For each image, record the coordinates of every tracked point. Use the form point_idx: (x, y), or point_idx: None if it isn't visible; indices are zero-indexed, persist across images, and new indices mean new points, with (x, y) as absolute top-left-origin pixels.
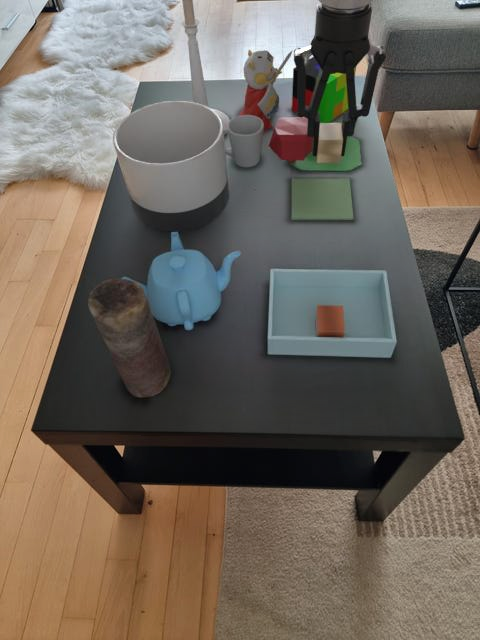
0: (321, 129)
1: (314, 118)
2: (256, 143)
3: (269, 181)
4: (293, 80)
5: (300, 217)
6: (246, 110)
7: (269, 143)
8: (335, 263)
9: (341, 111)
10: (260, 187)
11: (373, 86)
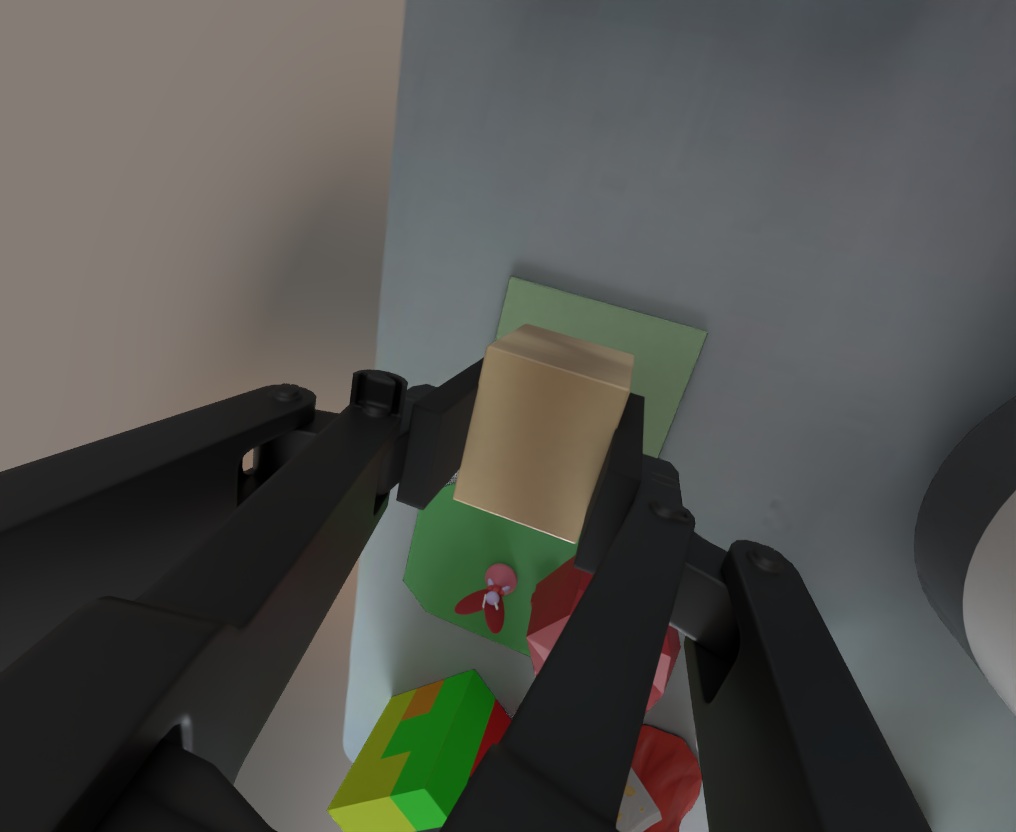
0: (576, 483)
1: (648, 500)
2: None
3: (709, 524)
4: None
5: (676, 326)
6: (680, 813)
7: (678, 652)
8: (635, 75)
9: (416, 692)
10: (750, 509)
11: (36, 471)
